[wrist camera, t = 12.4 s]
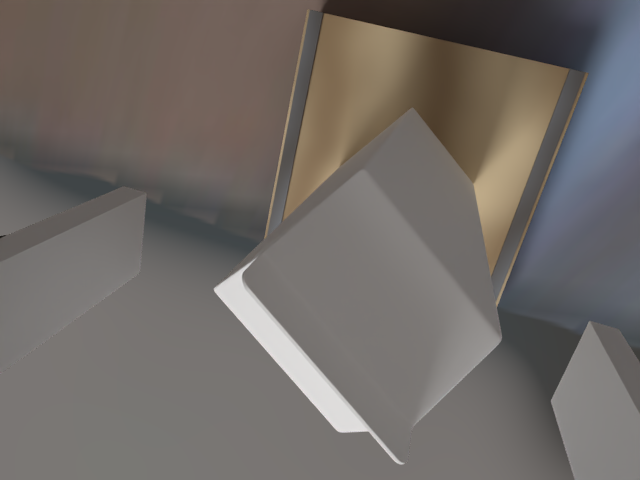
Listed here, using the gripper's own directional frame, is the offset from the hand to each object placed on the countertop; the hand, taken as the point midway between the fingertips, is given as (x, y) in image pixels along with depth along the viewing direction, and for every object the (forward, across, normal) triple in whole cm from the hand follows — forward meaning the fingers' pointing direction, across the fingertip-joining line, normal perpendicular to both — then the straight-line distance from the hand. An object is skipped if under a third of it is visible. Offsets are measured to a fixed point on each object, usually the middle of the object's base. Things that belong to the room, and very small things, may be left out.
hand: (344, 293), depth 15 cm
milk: (+18, +1, 0) cm, 19 cm away
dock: (+21, +1, 0) cm, 21 cm away
